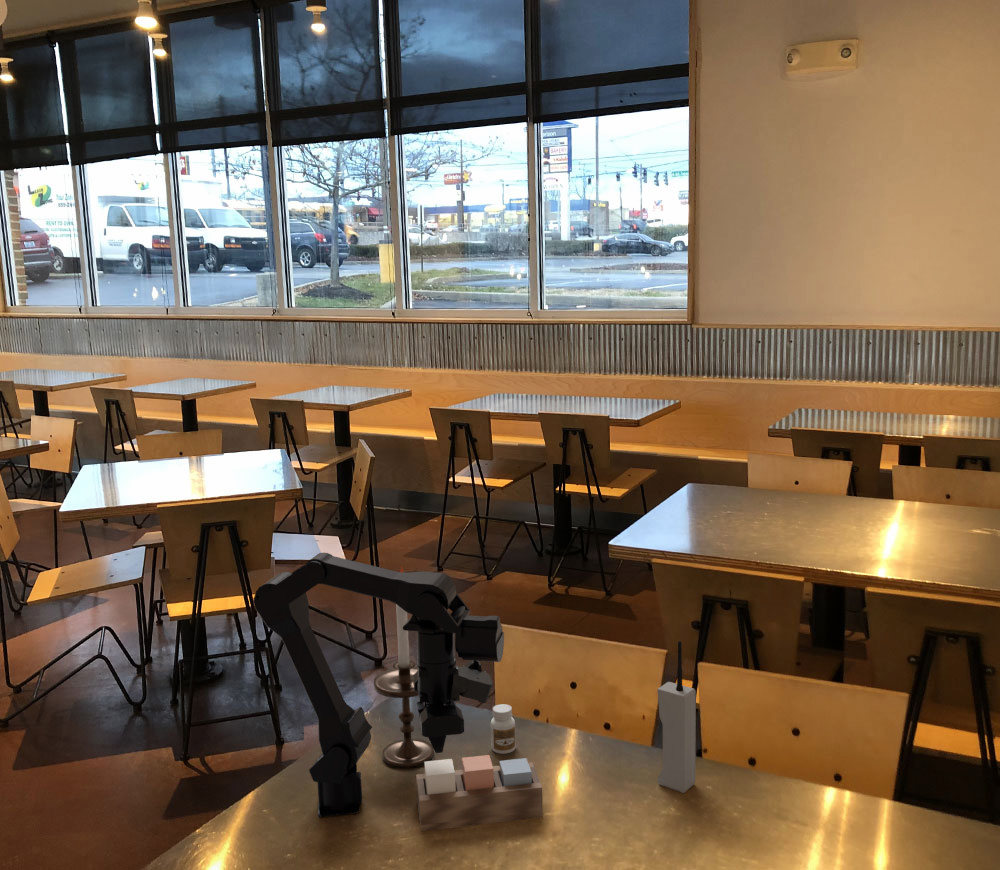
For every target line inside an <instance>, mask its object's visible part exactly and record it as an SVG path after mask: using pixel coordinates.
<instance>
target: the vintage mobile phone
mask: <svg viewBox="0 0 1000 870" xmlns="http://www.w3.org/2000/svg"><path fill="white" fill-rule="evenodd" d="M682 647H683V646H682V641H680V640H678V641H677V670H676V683H675V682H672V681H667V682H665V683H664V684H663V685H661V686H660V687H658V688H657V702H658V711H659V713H658V714H659V719H660V722H661V724H662V769H661V771H660V773H659V774H658V777H657V784H659V786H662V787H666V788H669V789H671V790H674V791H677V792H680V793H682V794H685V793H686V792H687V791H688V790H689V789H690V788H691V787H693V786H694V785H695V784H696V732H697V731H696V727H697V726H696V720H697V719H696V714H697V711H696V708H697V707H696V706H697V705H696V703H697V701H696V700H697V695H696V694H697V693H696V689H695V688H692V687H689V686H686V685H683V667H682V665H683V664H682V658H683V657H682V655H683V653H682V652H683V651H682Z"/></svg>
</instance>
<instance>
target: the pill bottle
mask: <svg viewBox="0 0 1000 870" xmlns="http://www.w3.org/2000/svg"><path fill="white" fill-rule="evenodd" d="M492 716H493V717H492V719H490V720H491V721H490V743H491V744H490V745H491V750H492V751H493V752H494V753H496V754H499V755H505V754H510V753H512V752H514V751H515V749H516V748H517V747H516V744H517V742H516V721H515V719H514V718H513V708H512V706H511V705H509V704H506V703H505V704H503V703H501V704H496V705H493V706H492Z"/></svg>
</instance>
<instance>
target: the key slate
mask: <svg viewBox="0 0 1000 870" xmlns="http://www.w3.org/2000/svg"><path fill="white" fill-rule="evenodd" d="M528 763H529V761H528V758H527V757H525V758H524V757H522V758H513V759H506V760H505V759H504V760H499V766H500V780H501V783H502V787H504V786H513V785H522V784H531V783H532V772H531V769H530V766H529V764H528Z"/></svg>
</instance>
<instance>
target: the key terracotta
mask: <svg viewBox="0 0 1000 870" xmlns="http://www.w3.org/2000/svg"><path fill="white" fill-rule="evenodd" d="M493 766H494V765H493V763H492V759H491V756H490V755H489V754H485V755H477V756H476V755H475V756H467V757H461V767H462V769H461V770H462V772H463V784H464V788H465V791H467V790H476V789H485V788H494V772H493Z"/></svg>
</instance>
